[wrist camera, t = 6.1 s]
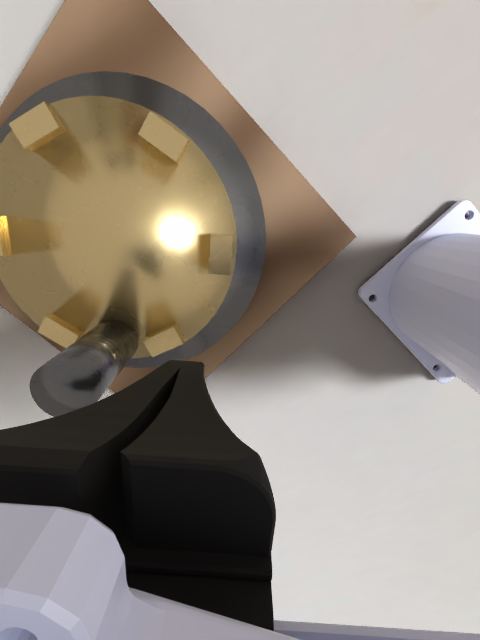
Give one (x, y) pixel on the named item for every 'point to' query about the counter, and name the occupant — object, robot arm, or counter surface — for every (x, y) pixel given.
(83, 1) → the walnut base board
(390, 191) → the counter surface
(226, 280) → the ring nut
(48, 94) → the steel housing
